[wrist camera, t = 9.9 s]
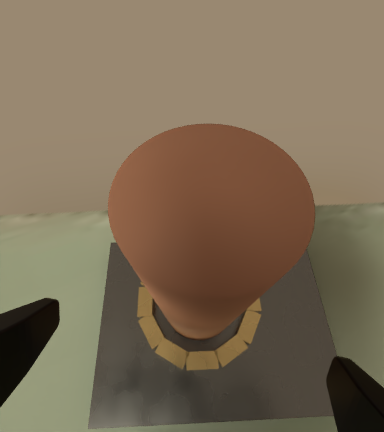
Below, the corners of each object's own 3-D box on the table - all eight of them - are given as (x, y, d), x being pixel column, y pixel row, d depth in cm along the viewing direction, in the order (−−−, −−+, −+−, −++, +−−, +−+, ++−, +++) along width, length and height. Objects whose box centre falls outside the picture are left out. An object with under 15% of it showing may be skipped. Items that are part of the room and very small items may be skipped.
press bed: (295, 241, 22) (306, 229, 20) (341, 409, 16) (363, 418, 14) (116, 249, 22) (107, 237, 20) (96, 423, 16) (81, 433, 14)
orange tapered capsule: (244, 323, 18) (361, 245, 5) (178, 352, 17) (140, 339, 5) (215, 260, 20) (251, 107, 8) (155, 283, 19) (90, 151, 7)
